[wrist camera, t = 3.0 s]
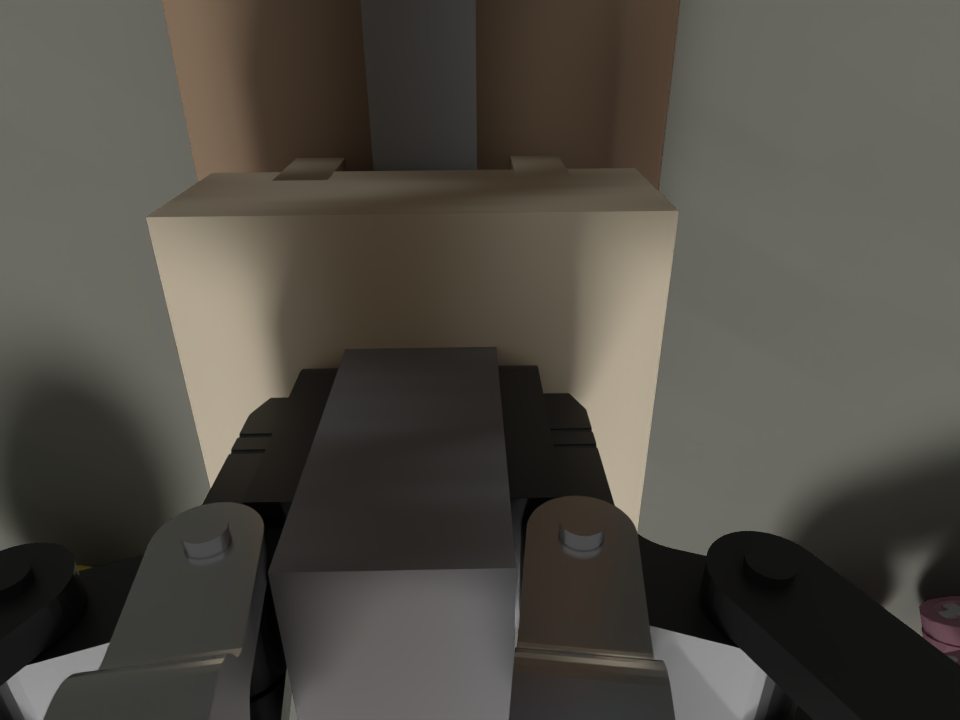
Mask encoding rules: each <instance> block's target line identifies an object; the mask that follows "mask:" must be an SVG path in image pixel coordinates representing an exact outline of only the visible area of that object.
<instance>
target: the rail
mask: <svg viewBox="0 0 960 720" xmlns="http://www.w3.org/2000/svg"><path fill="white" fill-rule="evenodd" d="M162 3H163V8H164V13H165V18H166V23H167V28H168V33H169V38H170V43H171V48H172V53H173V58H174V64H175V69H176V74H177V79H178V84H179V89H180V94H181V99H182V104H183V109H184V114H185V119H186V124H187V129H188V134H189V139H190V144H191V149H192V154H193V159H194V165H195V170H196V175H197V180H198V182H199V181H201V180H202V179H204V178H205V177H207V176H208V175H210V174H211V173H250V172H282V171H283V170H284V169H285V168H286V167H287V166H288V165H290V164H291V163H292V162H293V161H294V160H295V159H296V158H345V161H346V171H424V170H510V156H537V155H559V157H560V158H561V160H562V162H563V163H564V165H565V167H566V168H567V169H598V168H636V169H637V170H638V171H639V172H640V173H641V174H642V175H643V176H644V177H645V178H646V179H647V180H648V181H649V182H650V183H651V184H652V185H653V186H654V187H655V188H656V189H657V190H659V182H660V173H661V164H662V155H663V147H664V138H665V129H666V120H667V111H668V103H669V94H670V85H671V76H672V68H673V59H674V50H675V41H676V33H677V24H678V15H679V6H680V0H162Z"/></svg>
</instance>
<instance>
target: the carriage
mask: <svg viewBox="0 0 960 720" xmlns="http://www.w3.org/2000/svg"><path fill="white" fill-rule="evenodd" d="M678 213H679V210H678V209H676V208H675V207H674V206H673V205H672V204H671V203H670V202H669V201H668V200H667V199H666V198H665V197H664V196H663V195H662V194H661V193H660V192H659V191H658V190H657V189H656V188H655V187H654V186H653V185H652V184H651V183H650V182H649V181H648V180H647V179H646V178H645V177H644V176H643V175H642V174H641V173H640V172H639V171H638V170H637V169H636V168H598V169H567V168H566V167H565V165H564V163H563V162H562V160H561V158H560V157H559V155H537V156H510V170H424V171H346V161H345V158H296V159H295V160H294V161H293V162H292V163H291V164H290V165H288V166H287V167H286V168H285V169H284V170H283V171H282V172H250V173H211V174H210V175H208V176H207V177H205V178H204V179H202V180H201V181H199V182H198V183H196V184H195V185H193V186H192V187H190V188H189V189H187V190H186V191H184V192H183V193H181V194H180V195H179V196H177V197H176V198H174V199H173V200H171V201H170V202H168V203H167V204H165V205H164V206H162V207H161V208H159V209H158V210H156V211H155V212H153V213H152V214H150V215H149V216H147V217H146V219H147V223H148V228H149V232H150V236H151V240H152V244H153V249H154V253H155V257H156V261H157V265H158V269H159V274H160V278H161V282H162V286H163V290H164V295H165V299H166V303H167V307H168V311H169V316H170V320H171V324H172V328H173V332H174V336H175V341H176V345H177V349H178V353H179V357H180V362H181V366H182V370H183V374H184V378H185V382H186V387H187V391H188V395H189V399H190V403H191V408H192V412H193V416H194V420H195V424H196V429H197V433H198V437H199V441H200V445H201V449H202V454H203V458H204V462H205V466H206V470H207V475H208V479H209V483H210V487H212V485H213V483H214V481H215V479H216V478H217V476H218V474H219V472H220V470H221V468H222V466H223V464H224V462H225V460H226V458H227V456H228V455H229V454H231V449H232V447H233V445H234V443H235V441H236V439H237V438H239V433H240V432H241V430H242V428H243V426H244V424H245V422H246V420H247V418H248V416H249V414H251V413H252V412H253V411H254V410H256V409H257V408H258V407H259V406H261V405H262V404H263V403H265V402H266V401H267V400H268V399H270V398H283V397H289V396H290V393H291V391H292V389H293V387H294V384H295V382H296V380H297V378H298V375H299V373H300V371H301V370H302V369H314V368H339V369H338V371H337V374H336V377H335V380H334V383H333V386H332V389H331V392H330V395H329V397H328V400H327V403H326V406H325V409H324V412H323V415H322V418H321V421H320V423H319V426H318V429H317V432H316V435H315V438H314V441H313V444H312V447H311V449H310V452H309V455H308V458H307V461H306V464H305V467H304V470H303V472H302V475H301V478H300V481H299V484H298V487H297V490H296V493H295V496H294V498H293V501H292V504H291V507H290V510H289V513H288V516H287V519H286V522H285V524H284V527H283V530H282V533H281V536H280V539H279V542H278V545H277V548H276V550H275V553H274V556H273V559H272V562H271V565H270V568H269V571H268V577H269V582H270V587H271V591H272V596H273V601H274V606H275V611H276V616H277V621H278V626H279V630H280V635H281V640H282V645H283V650H284V655H285V660H286V665H287V669H288V674H289V679H290V684H291V689H292V694H293V699H294V704H295V708H296V713H297V718H298V720H509V711H510V699H511V687H512V675H513V663H514V644H515V601H516V559H515V548H514V537H513V526H512V515H511V504H510V493H509V482H508V471H507V459H506V448H505V437H504V426H503V415H502V404H501V393H500V382H499V370H498V366H520V365H537V366H538V369H539V374H540V379H541V384H542V389H543V394H544V393H569V394H571V395H572V396H573V397H574V398H575V399H576V400H577V401H578V402H579V403H580V404H581V405H582V406H583V407H584V408H585V409H586V410H587V414H588V417H589V420H590V424H591V427H592V432H593V434H594V437H595V440H596V447H597V448H598V451H599V454H600V457H601V461H602V464H603V467H604V471H605V474H606V478H607V481H608V484H609V488H610V491H611V494H612V498H613V501H614V504H615V506H616V507H617V508H619V509H620V510H622V511H623V512H624V513H625V514H626V515H628V517H629V518H630V519H631V520H632V522H633V523H634V525H635V527H636V530H637V529H638V521H639V514H640V506H641V498H642V490H643V483H644V475H645V467H646V460H647V452H648V444H649V437H650V429H651V421H652V413H653V406H654V398H655V390H656V383H657V375H658V367H659V360H660V352H661V344H662V336H663V329H664V321H665V313H666V306H667V298H668V290H669V283H670V275H671V267H672V259H673V252H674V244H675V236H676V229H677V221H678Z"/></svg>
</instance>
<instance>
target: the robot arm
mask: <svg viewBox="0 0 960 720" xmlns="http://www.w3.org/2000/svg"><path fill="white" fill-rule="evenodd" d="M338 369H339V368H314V369H302V370H301V371H300V373H299V375H298V378H297V380H296V382H295V384H294V387H293V389H292V391H291V393H290V396H289V397H283V398H270V399H268V400H267V401H266V402H265V403H263V404H262V405H261V406H259V407H258V408H257V409H256V410H254V411H253V412H252V413H251V414H249V416H248V418H247V420H246V422H245V424H244V426H243V428H242V430H241V432H240V433H239V438H237V439H236V441H235V443H234V445H233V447H232V449H231V454H229V455H228V456H227V458H226V460H225V462H224V464H223V466H222V468H221V470H220V472H219V474H218V476H217V478H216V479H215V481H214V483H213V485H212V487H211V489H210V491H209V493H208V495H207V497H206V499H205V500H204V502H203V504H202V505H201V506H197V507H195V508H192V509H189V510H187V511H185V512H182V513H180V514H178V515H177V516H175V517H173V518H172V519H170V520H169V521H168V522H166V523H165V524H164V525H162V526H161V527H160V528H159V529H158V530H157V531H156V533H155V534H154V535H153V537H152V538H151V540H150V542H149V544H148V546H147V549H146V551H145V554H143V555H140V556H137V557H133V558H130V559H126V560H122V561H118V562H114V563H109V564H105V565H101V566H97V567H93V568H89V569H85V570H81V571H78V568H77V565H76V563H75V560H74V558H73V555H72V554H71V553H70V551H69V550H68V549H66V548H64V547H63V546H60V545H57V544H52V543H30V544H24V545H19V546H14V547H11V548H8V549H5V550H2V551H0V720H289V716H290V706H291V696H292V689H291V684H290V679H289V674H288V669H287V665H286V660H285V655H284V650H283V645H282V640H281V635H280V630H279V626H278V621H277V616H276V611H275V606H274V601H273V596H272V591H271V587H270V582H269V577H268V571H269V568H270V565H271V562H272V559H273V556H274V553H275V550H276V548H277V545H278V542H279V539H280V536H281V533H282V530H283V527H284V524H285V522H286V519H287V516H288V513H289V510H290V507H291V504H292V501H293V498H294V496H295V493H296V490H297V487H298V484H299V481H300V478H301V475H302V472H303V470H304V467H305V464H306V461H307V458H308V455H309V452H310V449H311V447H312V444H313V441H314V438H315V435H316V432H317V429H318V426H319V423H320V421H321V418H322V415H323V412H324V409H325V406H326V403H327V400H328V397H329V395H330V392H331V389H332V386H333V383H334V380H335V377H336V374H337V371H338ZM498 370H499V382H500V393H501V404H502V415H503V426H504V437H505V448H506V459H507V471H508V482H509V493H510V504H511V515H512V526H513V537H514V548H515V559H516V601H515V628H519V630H518V642H517V647H516V648H515V654H514V663H513V675H512V687H511V699H510V711H509V720H960V665H959V664H957V663H956V662H955V661H953V660H952V659H951V658H949V657H948V656H947V655H945V654H944V653H943V652H941V651H940V650H939V649H937V648H936V647H935V646H933V645H932V644H931V643H929V642H928V641H927V640H925V639H924V638H923V637H921V636H920V635H919V634H917V633H916V632H915V631H914V630H912V629H911V628H910V627H908V626H907V625H906V624H904V623H903V622H902V621H900V620H899V619H898V618H896V617H895V616H894V615H892V614H891V613H890V612H888V611H887V610H886V609H884V608H883V607H882V606H880V605H879V604H878V603H876V602H875V601H874V600H872V599H871V598H870V597H868V596H867V595H866V594H864V593H863V592H862V591H860V590H859V589H858V588H856V587H855V586H854V585H853V584H851V583H850V582H849V581H847V580H846V579H845V578H843V577H842V576H841V575H839V574H838V573H837V572H835V571H834V570H833V569H831V568H830V567H829V566H827V565H826V564H825V563H823V562H822V561H821V560H819V559H818V558H817V557H815V556H814V555H813V554H811V553H810V552H809V551H807V550H806V549H804V548H803V547H801V546H799V545H798V544H796V543H794V542H792V541H790V540H787V539H785V538H782V537H779V536H776V535H773V534H769V533H764V532H756V531H740V532H734V533H730V534H727V535H724V536H722V537H720V538H719V539H717V540H716V541H715V542H714V543H713V544H712V545H711V546H710V548H709V550H708V553H707V556H704V555H699V554H695V553H690V552H686V551H681V550H676V549H672V548H668V547H665V546H662V545H659V544H656V543H654V542H651V541H649V540H647V539H645V538H643V537H642V536H640V535H639V534H637V530H636V527H635V525H634V523H633V522H632V520H631V519H630V518H629V517H628V515H626V514H625V513H624V512H623V511H622V510H620V509H619V508H617V507H616V506H615V504H614V501H613V498H612V494H611V491H610V488H609V484H608V481H607V478H606V474H605V471H604V467H603V464H602V461H601V457H600V454H599V451H598V448H597V447H596V440H595V437H594V434H593V432H592V427H591V424H590V420H589V417H588V414H587V410H586V409H585V408H584V407H583V406H582V405H581V404H580V403H579V402H578V401H577V400H576V399H575V398H574V397H573V396H572V395H571V394H569V393H544V394H543V389H542V384H541V379H540V374H539V369H538V366H537V365H520V366H498Z"/></svg>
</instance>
